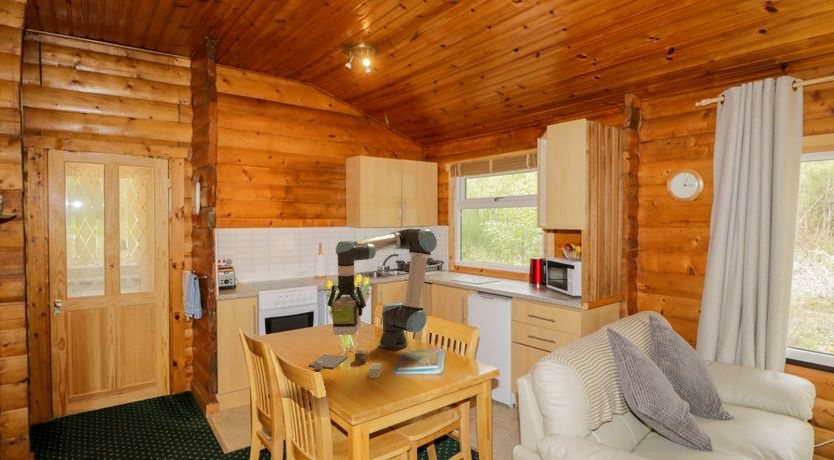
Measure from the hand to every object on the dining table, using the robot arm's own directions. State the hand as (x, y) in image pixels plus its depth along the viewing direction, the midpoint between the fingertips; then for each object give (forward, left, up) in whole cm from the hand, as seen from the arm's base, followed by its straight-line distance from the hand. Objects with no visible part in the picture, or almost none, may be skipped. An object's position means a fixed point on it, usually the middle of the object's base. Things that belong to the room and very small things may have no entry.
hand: (347, 321), depth 214 cm
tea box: (0, 0, -4) cm, 4 cm away
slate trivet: (+14, -8, -23) cm, 28 cm away
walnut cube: (-1, -13, -23) cm, 26 cm away
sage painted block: (-14, +1, -23) cm, 27 cm away
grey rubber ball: (+14, +2, -21) cm, 25 cm away
